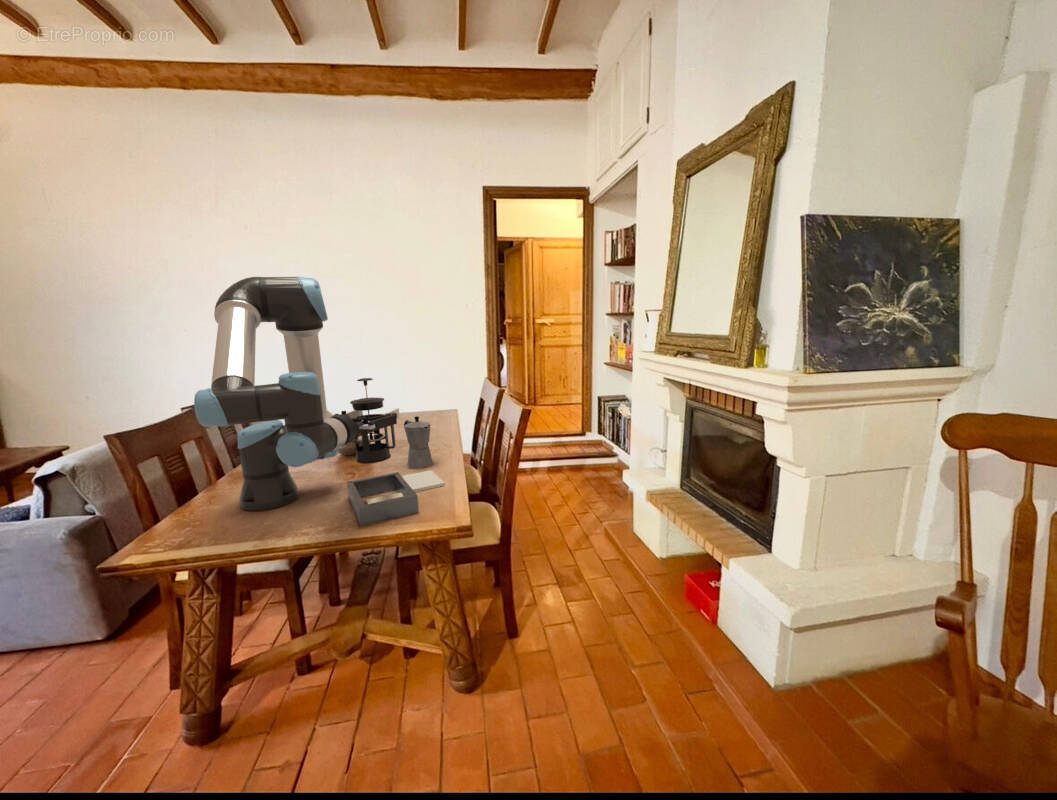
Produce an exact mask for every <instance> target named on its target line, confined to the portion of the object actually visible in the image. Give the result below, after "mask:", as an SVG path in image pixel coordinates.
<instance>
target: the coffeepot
mask: <svg viewBox="0 0 1057 800" xmlns="http://www.w3.org/2000/svg"><path fill="white" fill-rule="evenodd" d="M403 427H404V431H405V435H406V439H407V443H408V445H409V448H408V454H407V455H408V456H407V466H409V467H408V468H409V469H413V468H417V469H418V468H421V469H425V467H426V468H429V467H431V466H433V464H434V462H433V461H434V460H433V458H432V454H431V449H430V446H429V443H430V435H431V423H430V422H429V421H420V417H419V416H414V421H412V420H408V419H406V420H405V421H404V423H403ZM430 465H431V466H430ZM428 466H429V467H428ZM417 469H416V470H417ZM418 470H419V469H418Z"/></svg>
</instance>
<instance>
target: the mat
mask: <svg viewBox="0 0 1057 800" xmlns="http://www.w3.org/2000/svg"><path fill="white" fill-rule="evenodd" d="M401 476H402V477H403V479H404V480H405V481H406V482H407V483H408V485H409V486H410V487H411V488H412V489H413V491H414V492H415V493H418V491H419V492H423V491H428V490H432V489H436V487H437V488H441V487H440V486H442V487H445V486H446V484H445V481H444V480H443V479H441V478H440V476H438V475H437V474H436V473H435V472H434V471H433V470H430V469H429V470H426V471H420V472H417V473H416V472H415V473H410V474H405V475H404V474H403V475H401ZM444 485H445V486H444ZM431 488H432V489H431ZM427 489H428V490H427ZM422 490H423V491H422Z"/></svg>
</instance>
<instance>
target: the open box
mask: <svg viewBox="0 0 1057 800" xmlns="http://www.w3.org/2000/svg"><path fill="white" fill-rule="evenodd" d="M402 476H403V475H401V474H400V472H398V471H397V472H392V473H387V474H380V475H376V476H370V477H366V478H359V479H356V480H355V479H354V480H350V481H346V483H347V484H346V485H347V494H348V499H349V502H350V501H351V502H350V504H351V507H352V506H353V507H352V509H353V511H354V514H355V513H356V514H355V516H356V519H357V518H358V519H357V520H358V523H359V526H360V527H361V528H362V527H365V526H369V525H373V524H379V523H382V522H386V521H390V520H393V519H398V518H402V517H407V516H411V515H415V514H419V512H420V511H419V510H420V509H419V498H418V497H419V496H418V494H417V492H414V491H413V489H412V488H411V487H410V486H409V485H408V483H407V482H406V481H405V480H404V479H403V477H402ZM395 489H396V490H395ZM390 490H392V491H396V492H397V493H402V495H403V497H398V498H394V499H389V500H384V501H380V502H375V503H371V504H367V503H366V504H364V502H363V500H362V497H361V496H363V497H367V496H366V495H368V496H372V495H371V494H373V495H376V494H375V493H378V494H381V493H380V492H382V493H386V492H385V491H387V492H391V491H390Z"/></svg>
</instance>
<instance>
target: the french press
mask: <svg viewBox="0 0 1057 800" xmlns="http://www.w3.org/2000/svg"><path fill="white" fill-rule="evenodd" d="M373 380H374V379H373V378H371V377H363V378H359V379H357V380H356V381H357V382H363V386H364V387H365V389H364V390H365V396H366V397H364V398H358V399H353V400H351V401H350V402H349V403H350V404H351V407H352V409H353V410H355V411H365V412H366V411H367V414H365V415H363V416H358V417H357V418H361V417H367V418H371V417H376V416H381V415H384V413H383V414H382V413H381V414H380V413H374V414H372V413H371V414H370V411H372V410H378V409H382V408H384V401H385V398H383V397H368V387H367V386H368V381H373ZM361 421H362V422H363V420H361ZM363 424H364V422H363ZM383 429H384V433H383V432H381V429H378V430H376V431H374V432H369V430H367V431H363V432H360V433H361V435H358V434H359V433H358V434H356V436H355V438H354V443H355V456H356V457H355V461H356V463H358V464H365V465H366V464H367V465H368V464H369V465H370V464H376V463H382V462H384V461H387V460H389V459H391V457H392V455H391V453H390V452H391V451H390V449H391V450H392V449H394V448H396V435H395V424H394V425H392V426H390V431H391V432H390V433H391V441H392V442H391V443H392V445H390V443H389V435H388V427H385V428H383ZM382 440H385V442H382ZM359 443H362V445H360V446H359Z"/></svg>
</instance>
